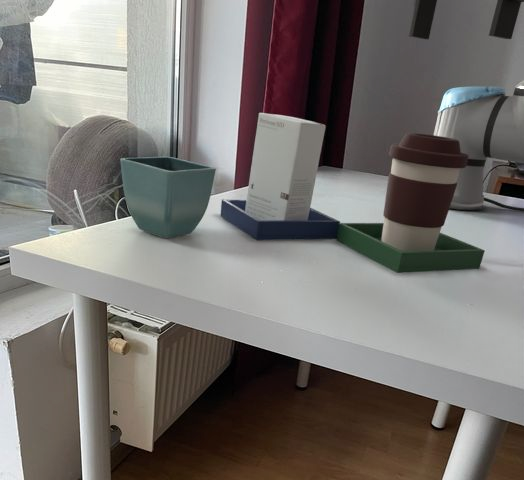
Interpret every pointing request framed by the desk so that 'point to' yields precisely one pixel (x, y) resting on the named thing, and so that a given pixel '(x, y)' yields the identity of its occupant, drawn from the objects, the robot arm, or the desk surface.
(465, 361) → the desk surface
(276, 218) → the cosmetic box
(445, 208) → the coffee cup
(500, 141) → the robot arm
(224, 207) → the navy tray
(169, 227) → the flower pot
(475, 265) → the green tray
